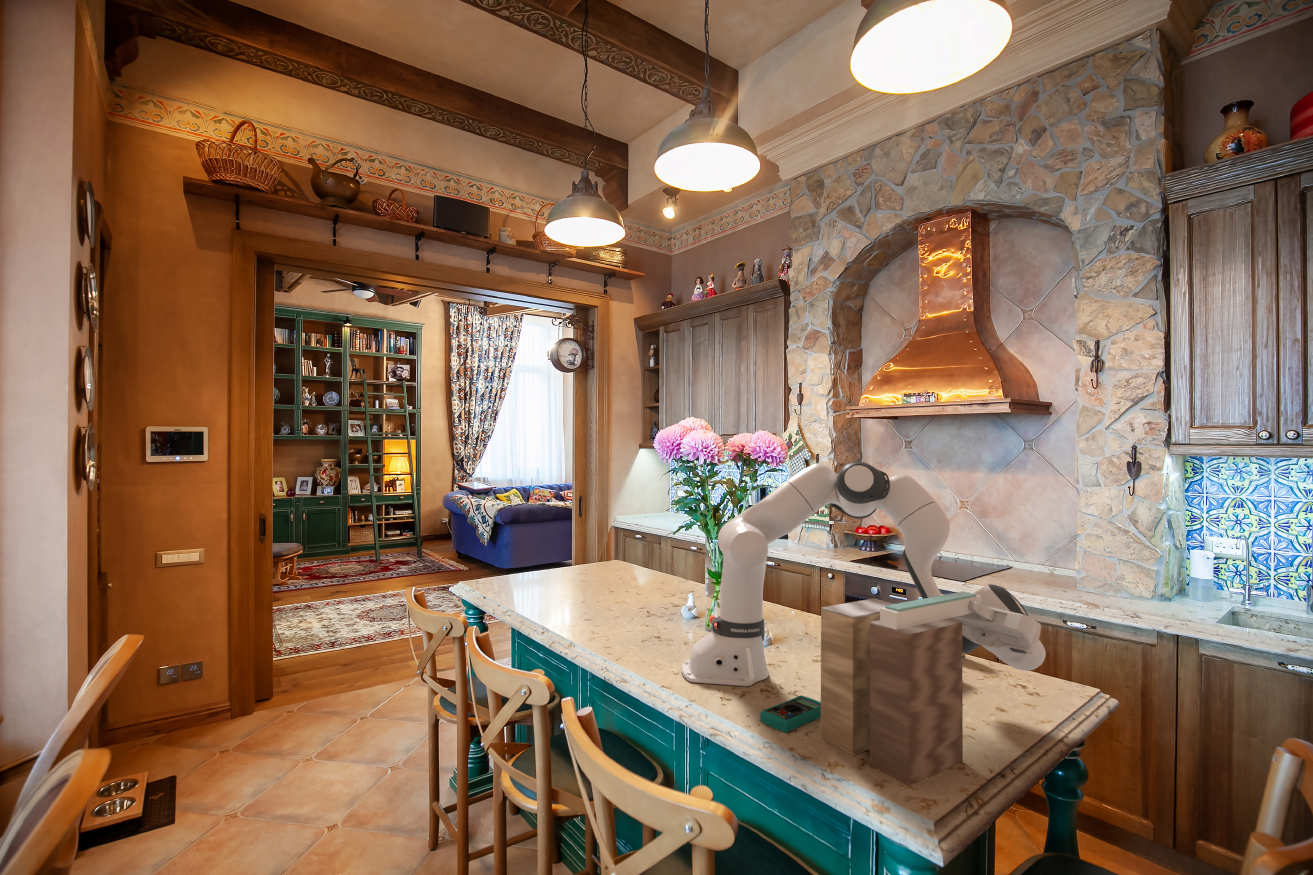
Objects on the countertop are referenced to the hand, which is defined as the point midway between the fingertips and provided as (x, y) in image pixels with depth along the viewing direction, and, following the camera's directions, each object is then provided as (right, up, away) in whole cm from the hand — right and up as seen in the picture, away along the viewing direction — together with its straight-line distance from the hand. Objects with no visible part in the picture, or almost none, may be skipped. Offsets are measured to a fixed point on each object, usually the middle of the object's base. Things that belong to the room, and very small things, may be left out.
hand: (960, 601), depth 120 cm
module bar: (-8, -2, -5) cm, 9 cm away
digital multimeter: (-30, -29, +11) cm, 43 cm away
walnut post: (-12, -28, -8) cm, 31 cm away
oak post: (-18, -28, +2) cm, 33 cm away
